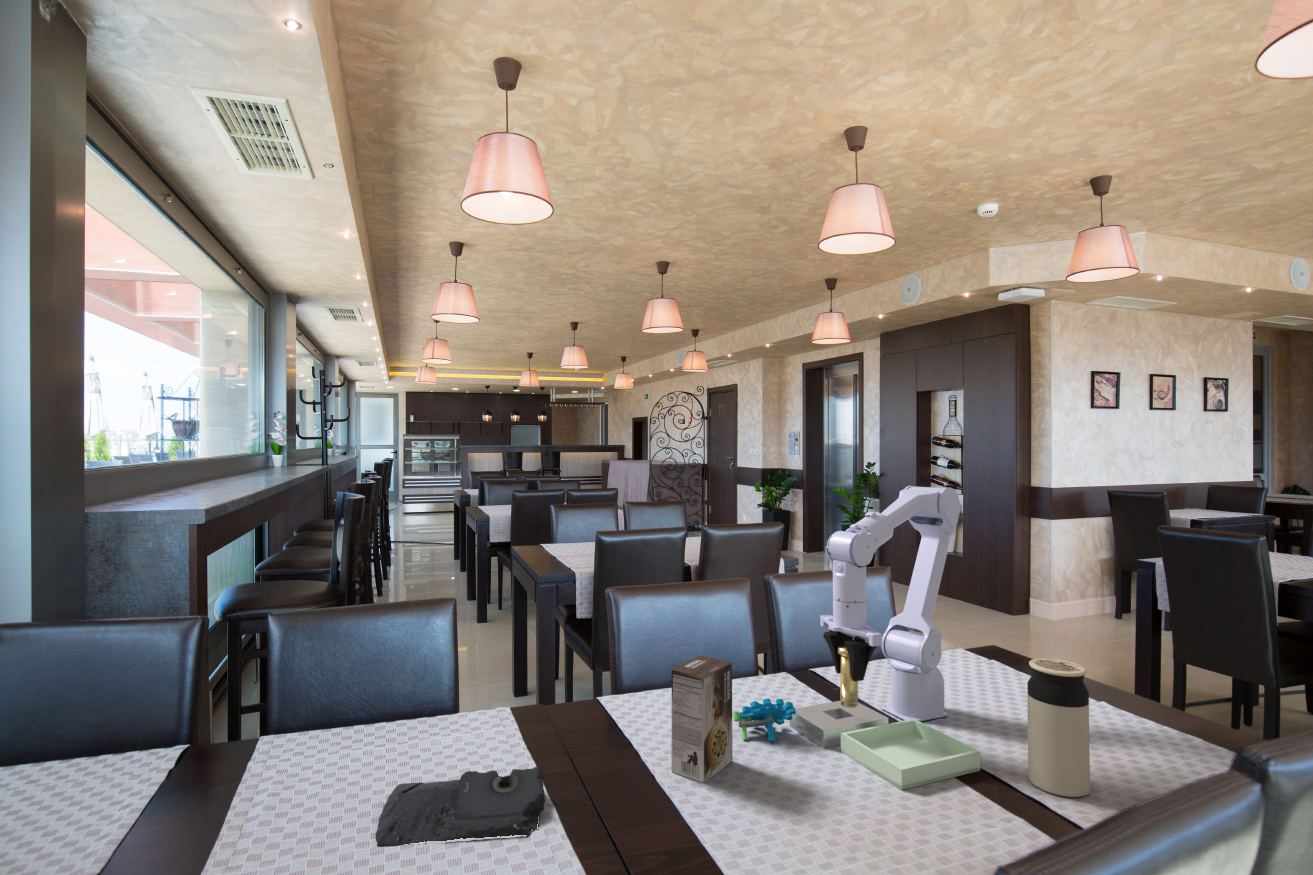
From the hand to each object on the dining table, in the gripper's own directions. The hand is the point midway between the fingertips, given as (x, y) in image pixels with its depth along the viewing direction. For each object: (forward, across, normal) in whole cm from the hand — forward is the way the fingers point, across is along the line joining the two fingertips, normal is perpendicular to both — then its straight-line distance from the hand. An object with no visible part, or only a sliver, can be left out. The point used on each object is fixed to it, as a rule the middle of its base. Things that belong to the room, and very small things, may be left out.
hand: (849, 676), depth 118 cm
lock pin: (+5, 0, 0) cm, 5 cm away
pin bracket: (+10, -2, -1) cm, 11 cm away
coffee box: (+11, +1, -30) cm, 31 cm away
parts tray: (+10, +11, +3) cm, 16 cm away
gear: (+11, -6, -14) cm, 18 cm away
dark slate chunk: (+11, 0, -66) cm, 67 cm away
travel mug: (+11, +26, +18) cm, 33 cm away
